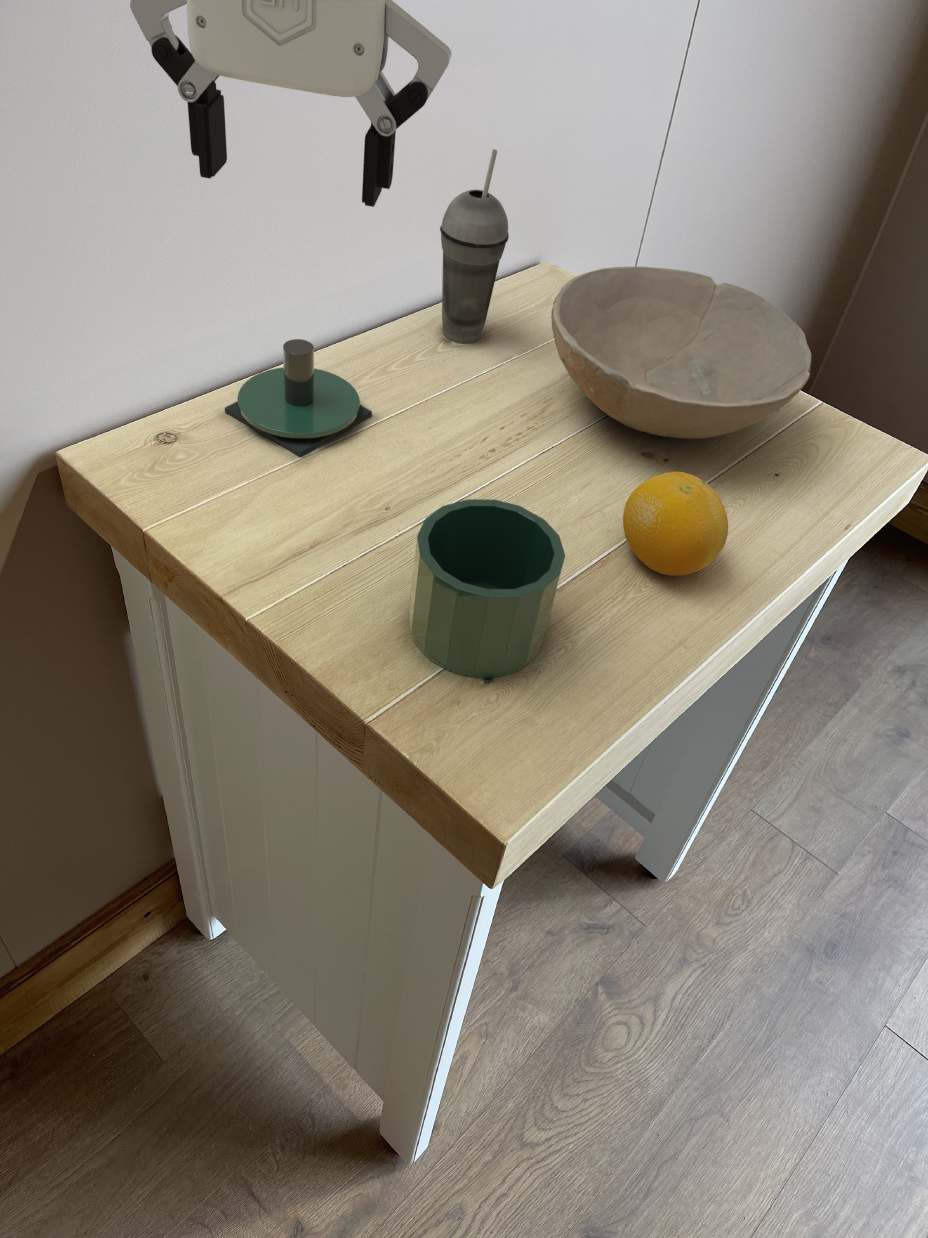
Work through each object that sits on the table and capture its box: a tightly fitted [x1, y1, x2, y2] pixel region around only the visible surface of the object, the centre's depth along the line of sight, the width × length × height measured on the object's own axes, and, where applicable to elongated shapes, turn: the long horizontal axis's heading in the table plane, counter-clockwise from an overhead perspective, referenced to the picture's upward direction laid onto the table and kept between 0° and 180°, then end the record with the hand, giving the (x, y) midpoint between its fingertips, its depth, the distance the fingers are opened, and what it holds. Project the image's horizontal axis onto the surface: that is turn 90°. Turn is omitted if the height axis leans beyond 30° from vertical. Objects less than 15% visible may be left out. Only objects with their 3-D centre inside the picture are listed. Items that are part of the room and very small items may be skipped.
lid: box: [237, 338, 361, 439], centre depth 87 cm, size 12×12×7 cm
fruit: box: [622, 471, 729, 576], centre depth 78 cm, size 9×8×8 cm
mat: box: [224, 400, 373, 458], centre depth 90 cm, size 10×10×1 cm
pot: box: [408, 498, 566, 679], centre depth 69 cm, size 11×11×8 cm
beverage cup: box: [439, 149, 510, 344], centre depth 97 cm, size 7×7×20 cm
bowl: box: [550, 266, 812, 439], centre depth 94 cm, size 26×26×10 cm
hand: (293, 183), depth 55 cm, fingers open, 9 cm apart
